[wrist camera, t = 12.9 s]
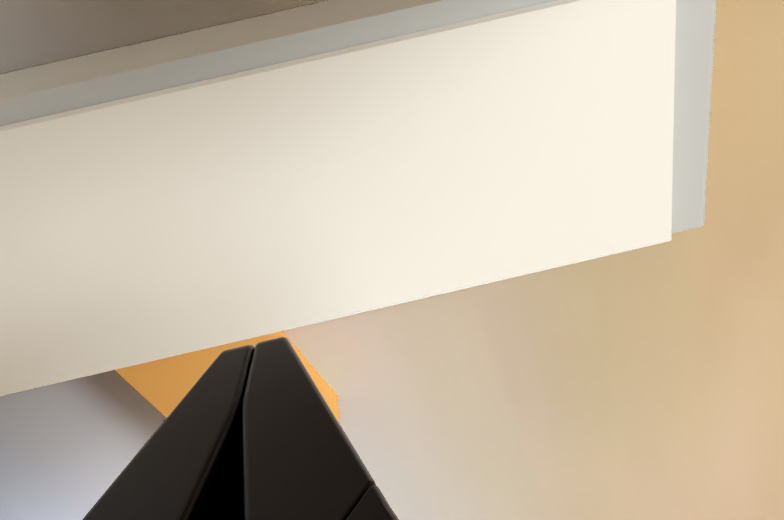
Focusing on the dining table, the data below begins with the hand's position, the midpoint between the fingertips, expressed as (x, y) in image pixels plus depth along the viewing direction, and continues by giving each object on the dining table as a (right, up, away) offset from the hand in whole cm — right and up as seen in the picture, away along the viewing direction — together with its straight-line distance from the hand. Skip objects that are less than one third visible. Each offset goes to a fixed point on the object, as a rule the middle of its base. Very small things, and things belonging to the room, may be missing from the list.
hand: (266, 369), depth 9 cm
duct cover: (-1, +3, +7) cm, 8 cm away
